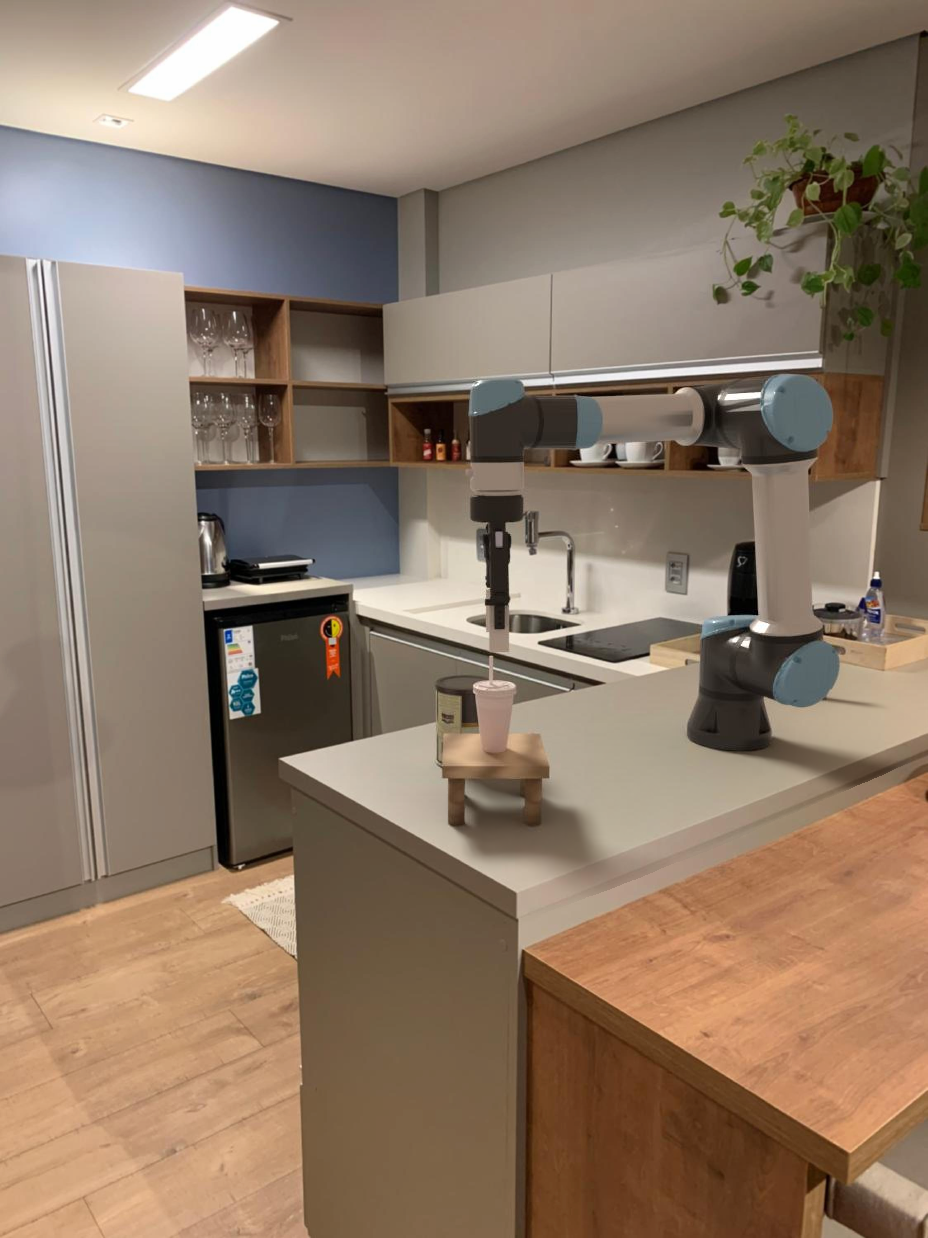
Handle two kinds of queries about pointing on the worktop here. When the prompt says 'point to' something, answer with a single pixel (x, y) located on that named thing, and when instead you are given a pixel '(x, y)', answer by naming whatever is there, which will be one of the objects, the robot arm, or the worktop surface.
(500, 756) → the tan square-topped part
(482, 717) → the smoothie
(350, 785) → the worktop surface
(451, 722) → the coffee can
